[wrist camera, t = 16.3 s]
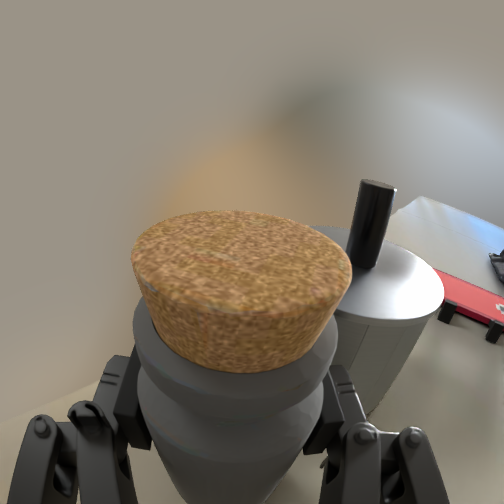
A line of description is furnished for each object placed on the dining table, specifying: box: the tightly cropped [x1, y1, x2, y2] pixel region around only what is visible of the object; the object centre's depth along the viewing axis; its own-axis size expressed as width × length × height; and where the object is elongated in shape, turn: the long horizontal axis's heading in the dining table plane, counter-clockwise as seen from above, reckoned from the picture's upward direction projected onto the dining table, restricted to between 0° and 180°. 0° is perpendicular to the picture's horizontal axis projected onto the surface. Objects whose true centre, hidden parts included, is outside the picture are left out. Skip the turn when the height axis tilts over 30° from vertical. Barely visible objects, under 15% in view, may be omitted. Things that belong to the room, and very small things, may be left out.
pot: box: [331, 315, 428, 415], centre depth 21 cm, size 12×12×10 cm
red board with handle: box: [431, 267, 504, 344], centre depth 31 cm, size 30×3×15 cm
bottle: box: [131, 211, 352, 504], centre depth 9 cm, size 6×6×15 cm
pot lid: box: [308, 179, 444, 327], centre depth 18 cm, size 13×13×7 cm
